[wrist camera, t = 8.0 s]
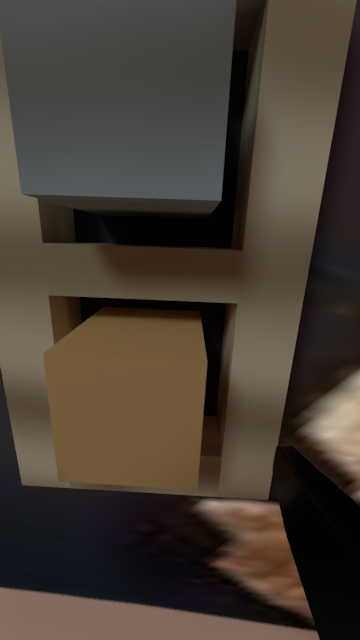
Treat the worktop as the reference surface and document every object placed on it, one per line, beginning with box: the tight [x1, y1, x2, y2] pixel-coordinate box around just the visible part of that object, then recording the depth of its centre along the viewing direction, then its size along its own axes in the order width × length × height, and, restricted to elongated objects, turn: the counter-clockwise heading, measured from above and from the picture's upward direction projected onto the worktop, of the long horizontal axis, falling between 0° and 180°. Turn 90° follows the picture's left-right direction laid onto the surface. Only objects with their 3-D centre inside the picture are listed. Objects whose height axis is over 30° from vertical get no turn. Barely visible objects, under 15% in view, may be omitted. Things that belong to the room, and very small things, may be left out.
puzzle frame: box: [0, 0, 357, 500], centre depth 10 cm, size 22×12×6 cm, turn 178°
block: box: [43, 306, 208, 490], centre depth 11 cm, size 5×5×6 cm
